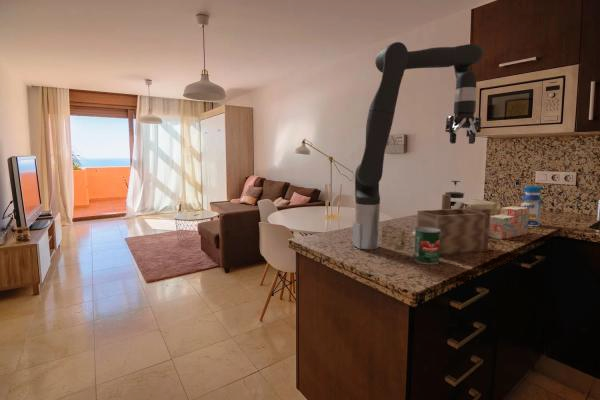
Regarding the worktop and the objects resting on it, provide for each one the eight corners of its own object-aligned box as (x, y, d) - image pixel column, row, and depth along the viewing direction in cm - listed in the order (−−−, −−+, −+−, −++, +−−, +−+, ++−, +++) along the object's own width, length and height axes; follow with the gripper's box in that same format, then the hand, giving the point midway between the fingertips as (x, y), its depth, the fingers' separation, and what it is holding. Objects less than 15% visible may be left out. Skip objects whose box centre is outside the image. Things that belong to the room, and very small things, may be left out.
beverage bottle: (543, 226, 164) (547, 186, 162) (530, 227, 162) (534, 187, 160) (528, 223, 172) (531, 185, 170) (515, 223, 170) (518, 185, 168)
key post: (478, 251, 122) (481, 209, 120) (463, 245, 129) (465, 206, 127) (487, 250, 123) (490, 209, 121) (471, 244, 130) (474, 206, 128)
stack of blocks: (501, 239, 138) (504, 211, 137) (487, 236, 144) (489, 209, 142) (527, 233, 149) (529, 207, 148) (512, 231, 154) (515, 205, 153)
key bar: (493, 209, 118) (493, 203, 118) (468, 205, 130) (469, 199, 130) (499, 209, 119) (500, 203, 119) (474, 204, 131) (475, 199, 130)
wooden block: (461, 232, 151) (464, 194, 149) (444, 234, 147) (446, 195, 145) (455, 230, 155) (457, 193, 152) (438, 232, 151) (440, 194, 148)
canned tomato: (425, 256, 116) (426, 225, 114) (444, 262, 109) (446, 230, 107) (409, 259, 112) (410, 227, 111) (427, 265, 105) (429, 232, 104)
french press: (437, 225, 167) (440, 180, 164) (447, 223, 173) (450, 179, 170) (460, 229, 158) (463, 182, 155) (470, 226, 164) (473, 181, 161)
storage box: (435, 256, 115) (438, 216, 113) (415, 247, 126) (417, 210, 124) (482, 252, 120) (485, 213, 118) (459, 244, 131) (461, 208, 129)
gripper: (456, 98, 120) (453, 143, 122) (488, 100, 124) (484, 143, 126) (442, 101, 128) (440, 143, 130) (473, 103, 131) (470, 144, 133)
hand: (462, 143), depth 128 cm, fingers open, 8 cm apart
